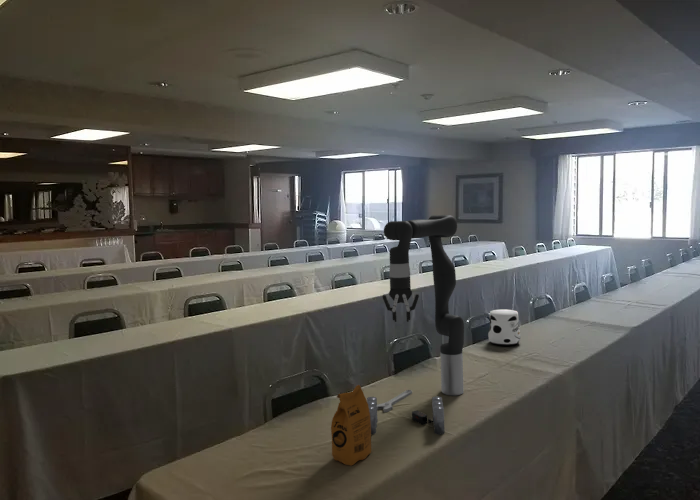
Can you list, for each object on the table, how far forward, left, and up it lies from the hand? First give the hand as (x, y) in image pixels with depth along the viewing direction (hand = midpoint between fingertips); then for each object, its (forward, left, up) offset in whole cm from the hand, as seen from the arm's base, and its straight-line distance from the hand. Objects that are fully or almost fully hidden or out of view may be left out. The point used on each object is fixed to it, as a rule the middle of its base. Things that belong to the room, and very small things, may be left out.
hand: (401, 321), depth 193 cm
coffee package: (+30, -17, -37) cm, 51 cm away
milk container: (-104, +56, -38) cm, 124 cm away
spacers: (+8, 0, -37) cm, 38 cm away
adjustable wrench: (-17, -4, -38) cm, 41 cm away
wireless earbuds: (+3, +6, -38) cm, 38 cm away
